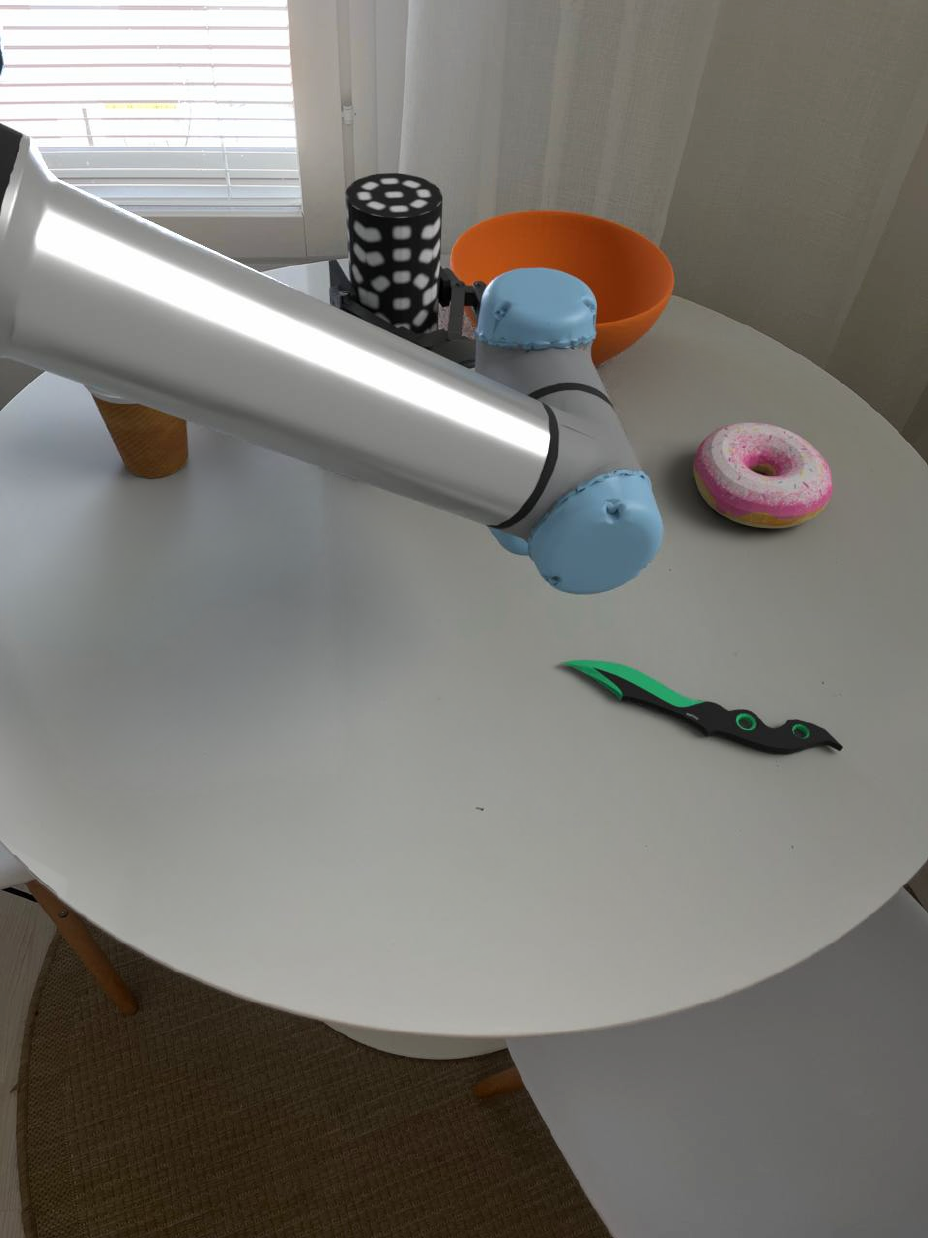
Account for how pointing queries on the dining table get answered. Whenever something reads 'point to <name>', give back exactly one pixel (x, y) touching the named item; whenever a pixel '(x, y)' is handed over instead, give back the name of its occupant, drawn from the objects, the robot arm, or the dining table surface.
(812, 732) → the knife
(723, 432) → the donut
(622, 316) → the bowl
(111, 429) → the disposable coffee cup
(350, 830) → the dining table surface
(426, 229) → the white-spotted black cylinder
